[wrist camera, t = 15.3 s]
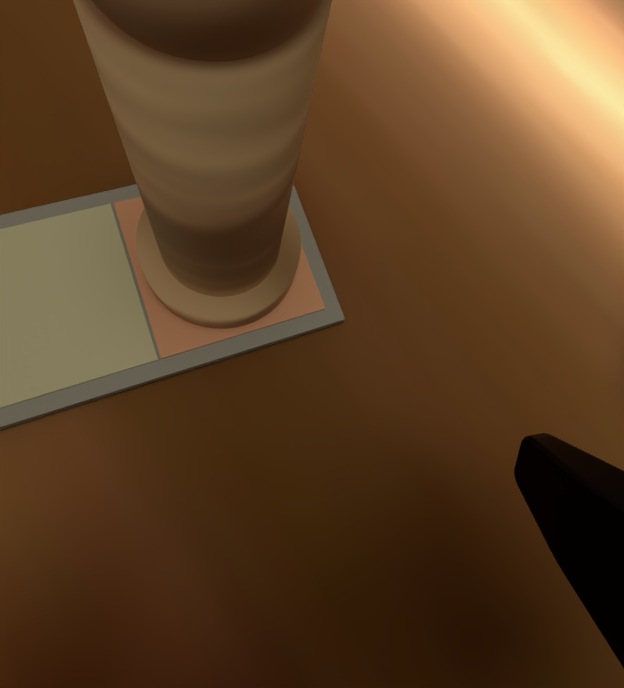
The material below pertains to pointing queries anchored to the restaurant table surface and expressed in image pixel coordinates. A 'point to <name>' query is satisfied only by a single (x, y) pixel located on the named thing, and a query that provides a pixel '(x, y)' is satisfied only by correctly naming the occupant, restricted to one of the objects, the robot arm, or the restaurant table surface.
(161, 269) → the pawn
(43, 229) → the board
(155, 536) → the restaurant table surface
